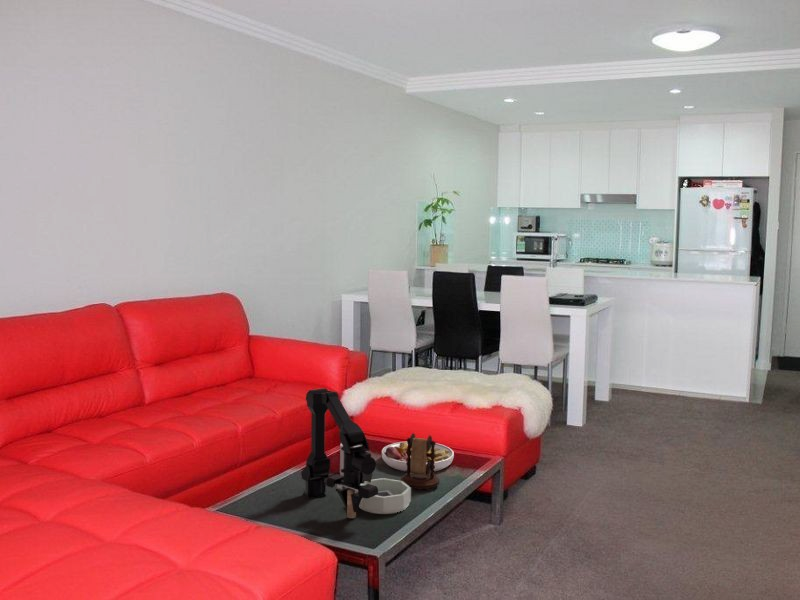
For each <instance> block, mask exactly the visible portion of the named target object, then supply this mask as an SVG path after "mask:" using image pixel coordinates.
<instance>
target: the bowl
mask: <svg viewBox="0 0 800 600" xmlns="http://www.w3.org/2000/svg"><path fill="white" fill-rule="evenodd" d="M407 443H408V442H407V440H406V441H399V442H394V443H391V444H388V445H385V446H384V447H383V448H382V449H381V457H382V460H383V462H384V463H385V464H386V465H387V466H388V467H391V468H393V469H396V470H397V471H401V472H406V471H407V465H406V463H407V457H408V456H407V454H406V451H407V450H408V449H407V446H408V444H407ZM435 443H436V442H435ZM431 446H432V445H431ZM431 448H432V447H431ZM431 448H430V450H429V452H426V453H429V454H430V453H432V452H431ZM434 449H435V452H434V453H435V454H436V456H435V459H434V462H435V463H434V466H435V469H433V470H434V472H438V471H441V470H444V469H446V468H447V467H449V466H450V465H451V464H452V462H453V460H454V457H455V453H454V452H455V451H454V450H453V449H452V448H450V447H448V446H446V445H444V444H440V443H436V444H435V447H434ZM410 450H411V449H410ZM410 458H411V456H410ZM429 459H431V458H430V456H429V457H427V456H426V464H427V462H428V460H429ZM430 473H431V471H430Z"/></svg>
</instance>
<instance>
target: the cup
mask: <svg viewBox="0 0 800 600" xmlns="http://www.w3.org/2000/svg"><path fill="white" fill-rule="evenodd" d="M359 446H362V445H359ZM359 446H353V447H359ZM342 447H343V445H342V443H341V442H340V445H339V449H340V450H339V452H340V453H339V454H340V455H339V475H341V476H344V473H342V472H341V469H343V468H344V451H343V450H341V448H342Z"/></svg>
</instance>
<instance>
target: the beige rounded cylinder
mask: <svg viewBox="0 0 800 600" xmlns="http://www.w3.org/2000/svg"><path fill="white" fill-rule="evenodd" d="M354 493H355V490H354V489H349V490H348V491H347V509H346V518H349V519H355V518H357V512H354V510H353V505H352V499H351V495H352V494H354Z"/></svg>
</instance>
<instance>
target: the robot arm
mask: <svg viewBox="0 0 800 600" xmlns="http://www.w3.org/2000/svg"><path fill="white" fill-rule="evenodd" d="M305 401H306V407H307V409H308V410H309V411H310V414H311V417H310V419H311V423H310V425H311V426H310V432H311V433H310V438H311V439H310V441H311V442H310V445H311V446H310V453H309V455H308V457H307V458H306V465H305V467H304V468H303V470H302V471H301V472H300V473H301V479H302V480H304V481H305V491H304V492H303V493H304V495H305V496H306V497H307V498H308V499H317V498H323V497H324V498H325V497H326V496H327V495H326V491H327V489H326V488H327V487H329V488H335V486H336V489H335V492H337V494H338V496H339V498H340V499H341V502H342V503H343V506H344V507H345V509H346V510H347V491H348V490H349V489H354V490H355V493H354V494H352V495H351V499H352V505H353V510H354V512H356V513H357V512H358V510H359V504H360V502H361V499H362V498H366V499H368V498H370V497H373V496H375V495H377V494H378V488H377V486H374V485H371V484H367V485H365V486H361V485H360V484H363V483H365V481H367V482H371V480H373V473H374V471H375V470H376V468H377V467H376V466H377V462H376V460H375V458H373V457H372V453H371V452H368V451H370V444H369V441H368V439H367V437H366V434H365V432H364V430H363V428H361V426H360V425H359V424H357V423H355V422H354V421H353V420H352V419H351V417H350V415H349V414H348V412H347V410H346V408H345V407H344V405H343V403H342V401H341V399H340V398H339V394H338V392H337V391H334V390H329V389H327V388H325V387H321V388H315V389H309V390H308V391H307V392H306V395H305ZM327 411H329V413H330V415H331V416H332V419H333V420H334V422H335V424H336V426H337V427H338V430H339V431H338V438H339V440H340V444H341V443H342V445H343V447H342V448H341V450H343V451H344V468H343V469H341V472H342V473H344V476H341V475H340V474H338V473H337V474H334V475H331V476H329V475H330V471H331V459H330V458H329V457H328V455H327V454H326V451H325V450H326V447H325V446H326V442H325V441H326V414H327ZM359 445H361V446H359ZM353 446H359V447H353ZM325 479H326V481H325ZM326 486H327V487H326Z"/></svg>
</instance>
